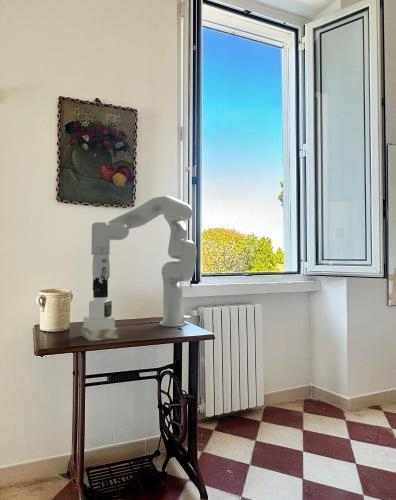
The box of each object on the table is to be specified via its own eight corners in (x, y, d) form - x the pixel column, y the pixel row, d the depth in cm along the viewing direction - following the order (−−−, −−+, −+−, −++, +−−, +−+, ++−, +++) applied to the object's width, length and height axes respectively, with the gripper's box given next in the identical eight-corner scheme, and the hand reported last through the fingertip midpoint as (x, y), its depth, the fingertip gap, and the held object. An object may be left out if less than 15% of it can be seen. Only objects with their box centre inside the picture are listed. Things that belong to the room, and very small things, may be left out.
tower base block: (108, 334, 172) (108, 323, 172) (117, 339, 162) (118, 328, 162) (81, 336, 166) (81, 326, 166) (89, 342, 156) (89, 331, 156)
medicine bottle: (104, 319, 159) (104, 290, 159) (88, 318, 161) (88, 289, 161) (111, 316, 166) (112, 288, 166) (96, 315, 168) (96, 288, 168)
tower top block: (105, 324, 171) (106, 314, 171) (114, 328, 163) (114, 317, 163) (83, 326, 165) (83, 316, 165) (91, 331, 157) (91, 320, 157)
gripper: (116, 251, 158) (115, 293, 158) (102, 251, 173) (102, 289, 173) (98, 251, 154) (97, 294, 154) (86, 251, 169) (85, 290, 169)
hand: (100, 291), depth 164 cm, fingers open, 9 cm apart
